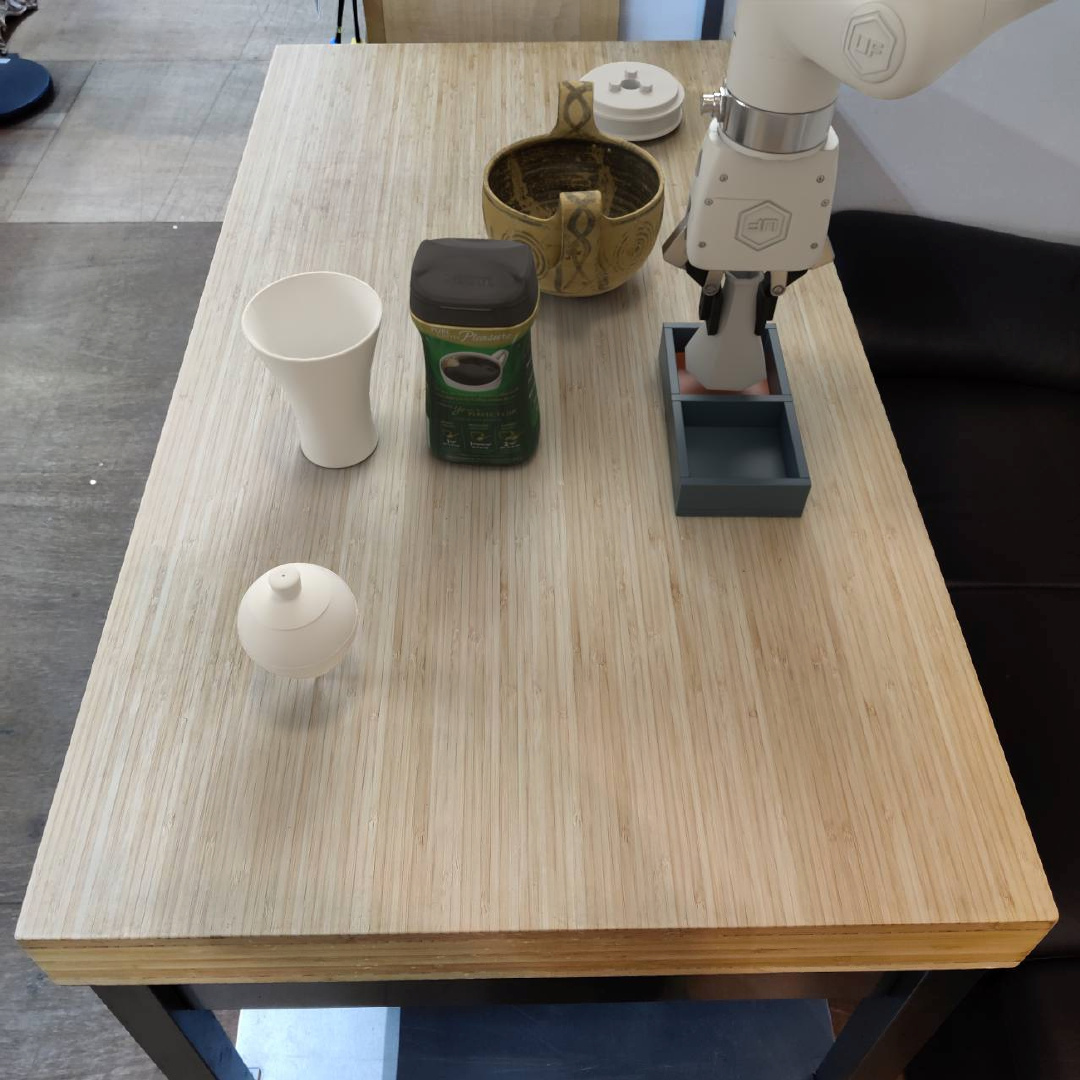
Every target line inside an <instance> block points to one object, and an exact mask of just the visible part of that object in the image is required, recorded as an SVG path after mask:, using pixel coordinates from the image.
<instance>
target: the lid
mask: <svg viewBox="0 0 1080 1080" xmlns="http://www.w3.org/2000/svg"><path fill="white" fill-rule="evenodd" d="M578 81H590V82H594V100H593V114H594V121H595V125H596V127H597V128H598V130H599V131H601V132H602V133H604V134H606V135H608V136H611V137H616V138H620V139H623V140H626V141H628V142H640V141H648V140H652V139H658V138H659V137H663V136H666V135H667V134H670V133H671V132H673V131H674V130H675V129H676V128H677V127H678V126H679V124H680V123H681V122H682V119H683V109H682V105H683V104H684V101H685V94H686V93H685V88H684V86H683V85H682V83H681V82H680V81H679V80H678V79H677V78H676V77H675V76H674V75H672V73H670V72H669V71H667V70H665V69H664V68H661V67H659V66H657V65H654V64H650V63H645V62H639V61H617V62H609V63H605V64H602V65H600V66H597V67H594V68H593V69H591V70H590V71H588V72H587V73H586V74H584V75H583V76H582V77H581V78H580V79H579V80H578Z"/></svg>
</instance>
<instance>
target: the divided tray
mask: <svg viewBox="0 0 1080 1080" xmlns="http://www.w3.org/2000/svg"><path fill="white" fill-rule="evenodd" d="M702 323H703V322H685V321H683V322H682V321H681V322H678V321H676V322H675V321H674V322H671V321H669V322H666V321H663V322H662V326H661V333H660V341H659V349H658V358H659V359H658V360H659V370H660V371H659V372H660V380H661V389H662V390H661V391H662V399H663V400H662V401H663V408H664V417H665V419H664V420H665V428H666V437H667V446H668V447H667V449H668V456H669V457H668V458H669V465H670V476H671V486H672V494H673V505H674V513H675V516H676V517H769V518H770V517H771V518H772V517H775V518H776V517H777V518H781V517H783V518H784V517H786V518H788V517H789V518H790V517H791V518H801V517H802V516H803V512H804V509H805V506H806V504H807V500H808V499H809V495H810V492H811V488H812V481H811V477H810V473H809V472H810V471H809V467H808V462H807V459H806V455H805V454H806V453H805V450H804V449H805V448H804V445H803V441H802V436H801V432H800V427H799V422H798V418H797V413H796V409H795V405H794V399H793V394H792V390H791V385H790V382H789V377H788V373H787V369H786V364H785V359H784V355H783V350H782V345H781V341H780V337H779V336H780V335H779V332H778V327H777V324H776V322H766V326H765V331H764V335H763V336H760V337H761V341H762V346H763V351H764V358H765V367H766V375H767V379H765V380H763V381H761V382H758V383H756V384H754V385H752V386H750V387H748V388H746V389H744V390H742V391H731V390H711V389H706V388H705V387H704V386H703V385H702V384H701V383H700V382H698V381H697V380H696V379H695V378H694V377H693V376H692V375H691V374H690V373H689V372H687V371H686V362H685V347H686V346H687V344H688V343H689V341H690V340H691V338H692V337H693V336H694V334H695V333H696V331H697V330H698V329H699V327H700V326H701V325H702Z"/></svg>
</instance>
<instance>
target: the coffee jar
mask: <svg viewBox="0 0 1080 1080" xmlns="http://www.w3.org/2000/svg"><path fill="white" fill-rule="evenodd" d="M540 292H541V291H539V283H538V278H537V272H536V268H535V261H534V257H533V253H532V250H531V248H530V246H528V245H526V244H523V243H519V242H515V241H509V240H495V239H489V238H474V237H473V238H470V237H467V238H466V237H465V238H464V237H441V238H434V239H423V240H421V242H420V244H419V245H418V248H417V250H416V252H415V255H414V258H413V261H412V266H411V271H410V280H409V298H408V309H409V310H408V311H409V314H410V318H411V321H412V323H413V324H414V326H415V328H416V330H417V331H418V333H419V335H420V338H421V344H422V350H423V357H424V372H425V373H424V377H425V382H424V383H425V385H424V386H425V391H424V392H425V394H424V395H425V399H424V402H425V403H424V405H425V406H424V407H425V409H424V411H425V412H424V414H425V415H424V416H425V434H426V441H427V447H428V449H429V450H430V451H431V453H432V454H433V455H434V456H436V457H437V458H438V459H440V460H443V461H445V462H449V463H453V464H454V463H455V464H461V465H467V466H482V467H483V466H485V467H486V466H487V467H502V466H503V467H505V466H507V467H508V466H514V465H518V464H521V463H523V462H524V461H526V460H528V459H529V458H530V457H531V456H532V455H533V454H534V452H535V451H536V448H537V446H538V445H539V440H540V439H539V438H540V434H541V412H540V411H541V410H540V403H539V402H540V401H539V394H538V387H537V381H536V376H535V370H534V369H535V368H534V361H533V360H534V359H533V352H532V351H533V350H532V327H533V325H534V323H535V321H536V318H537V315H538V312H539V308H540Z"/></svg>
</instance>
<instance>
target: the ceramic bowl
mask: <svg viewBox="0 0 1080 1080" xmlns="http://www.w3.org/2000/svg"><path fill="white" fill-rule="evenodd" d="M557 85H558V87H557V88H558V98H557V114H556V115H557V116H556V122H555V125H554V126H553V128H552V129H551V131H550V132H549V133H548V132H547V133H545V134H540V135H534V136H530V137H526V138H523V139H519V140H518V141H517V140H516V141H515V142H513V143H510V144H507V146H504V147H503V148H501V149H500V150H499V151H497V152H496V153H494V155H493V156H492V157H491V158H490V160H489V161H488V162H487V164H486V165H485V167H484V169H483V174H482V188H481V211H482V217H483V222H484V227H485V231H486V236H487V237H488V238H487V239H495V240H509V241H515V242H519V243H523V244H526V245H528V246H530V248H531V250H532V253H533V257H534V261H535V268H536V272H537V278H538V283H539V291H540V292H541V293H545V294H547V295H551V296H557V297H562V298H563V297H564V298H583V297H584V298H585V297H594V296H597V295H601V294H605V293H607V292H610V291H612V290H615V289H616V288H618V287H621V286H622V285H623V284H625V283H626V282H627V281H628V280H630V279H631V278H633V276H635V274H636V273H638V272H639V270H640V269H641V268H642V267H643V266H644V264H645V262H646V261H647V260H648V258H649V257H650V255H651V253H652V252H653V250H654V247H655V246H656V243H657V240H658V236H659V233H660V231H661V229H662V222H663V219H664V211H665V210H664V209H665V183H666V179H665V175H664V172H663V169H662V167H661V165H660V163H659V162H658V160H657V159H656V158H655V157H654V156H653V155H652V154H651V153H650V152H648V151H647V150H645V149H644V148H643V147H640V146H639V145H637V144H635V143H633V142H631V141H626V140H623V139H620V138H616V137H611V136H608V135H606V134H604V133H602V132H601V131H599V130H598V128H597V127H596V125H595V121H594V114H593V100H594V82H590V81H579V80H572V79H568V80H560V81H558V82H557Z"/></svg>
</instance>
